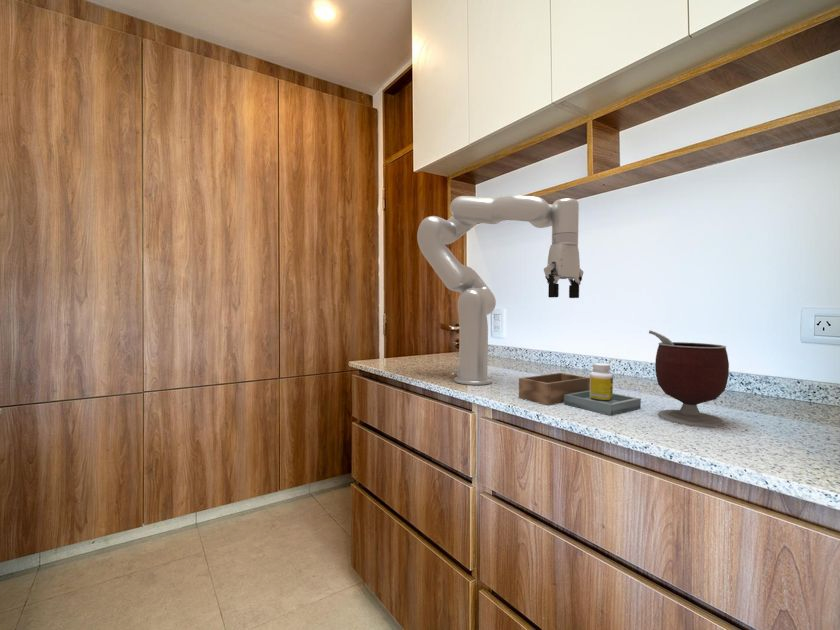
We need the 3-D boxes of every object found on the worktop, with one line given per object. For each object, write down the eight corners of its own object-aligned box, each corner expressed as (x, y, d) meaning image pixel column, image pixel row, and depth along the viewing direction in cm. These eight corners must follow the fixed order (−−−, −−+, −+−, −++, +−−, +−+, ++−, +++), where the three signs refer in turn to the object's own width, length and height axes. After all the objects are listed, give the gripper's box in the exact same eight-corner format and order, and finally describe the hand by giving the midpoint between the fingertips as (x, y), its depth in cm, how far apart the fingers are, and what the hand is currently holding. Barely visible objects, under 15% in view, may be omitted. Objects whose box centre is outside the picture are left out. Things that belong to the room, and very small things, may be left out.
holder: (518, 397, 113) (519, 378, 113) (560, 390, 123) (560, 372, 123) (547, 405, 105) (548, 384, 105) (589, 397, 115) (590, 377, 115)
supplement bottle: (614, 405, 101) (615, 366, 101) (591, 403, 102) (591, 365, 102) (610, 400, 106) (610, 363, 106) (588, 399, 108) (588, 362, 108)
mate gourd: (729, 418, 94) (731, 332, 93) (725, 432, 83) (727, 334, 83) (653, 407, 104) (654, 329, 103) (640, 418, 93) (642, 331, 93)
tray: (563, 404, 106) (564, 394, 106) (593, 398, 113) (593, 389, 113) (610, 415, 95) (611, 404, 95) (640, 408, 102) (640, 398, 102)
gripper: (572, 245, 131) (571, 298, 131) (535, 239, 121) (534, 297, 121) (593, 242, 124) (592, 298, 125) (556, 236, 115) (555, 296, 115)
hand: (563, 297), depth 123 cm, fingers open, 9 cm apart
